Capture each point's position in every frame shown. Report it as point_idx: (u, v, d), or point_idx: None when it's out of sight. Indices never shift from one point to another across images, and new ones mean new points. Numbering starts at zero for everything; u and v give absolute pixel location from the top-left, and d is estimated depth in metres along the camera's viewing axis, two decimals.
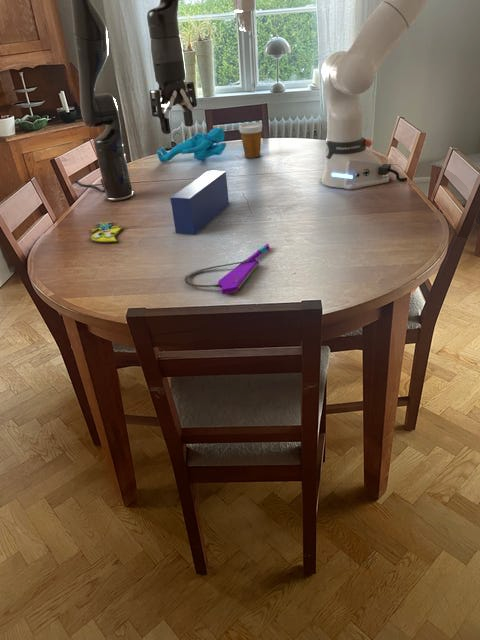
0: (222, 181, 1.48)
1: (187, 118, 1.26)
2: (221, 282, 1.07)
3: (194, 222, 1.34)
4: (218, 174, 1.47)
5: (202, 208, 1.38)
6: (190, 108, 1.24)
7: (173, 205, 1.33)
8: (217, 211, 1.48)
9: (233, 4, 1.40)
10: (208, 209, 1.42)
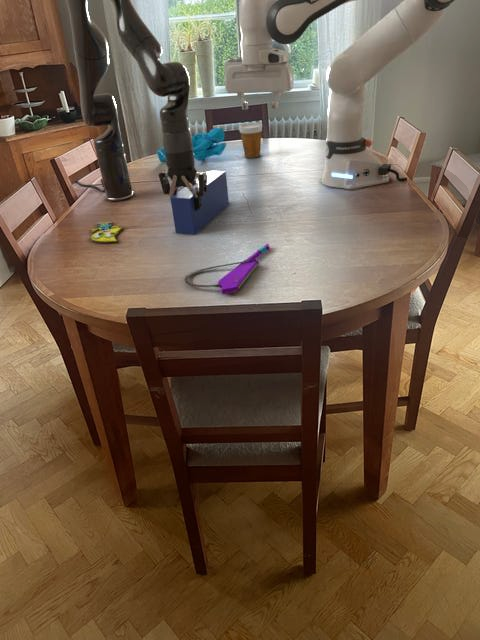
0: (222, 181, 1.48)
1: None
2: (221, 282, 1.07)
3: (194, 221, 1.34)
4: (218, 174, 1.47)
5: (202, 208, 1.38)
6: None
7: (173, 205, 1.33)
8: (217, 211, 1.48)
9: None
10: (208, 209, 1.42)
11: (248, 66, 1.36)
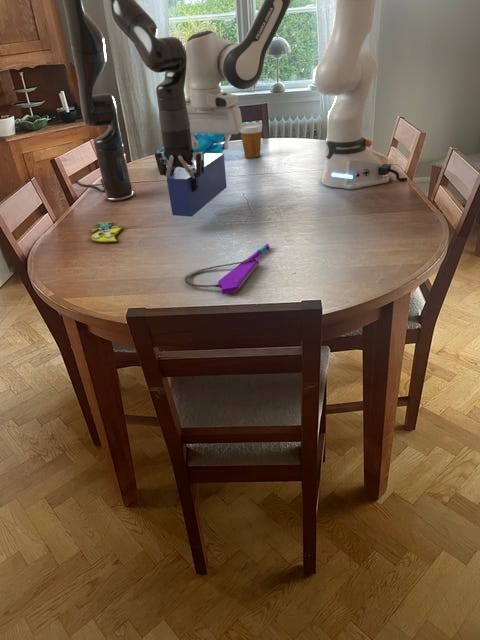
0: (220, 163, 1.45)
1: None
2: (221, 282, 1.07)
3: (191, 203, 1.31)
4: (216, 156, 1.44)
5: (199, 190, 1.35)
6: None
7: (169, 186, 1.30)
8: (215, 194, 1.45)
9: None
10: (205, 191, 1.39)
11: (197, 108, 1.36)
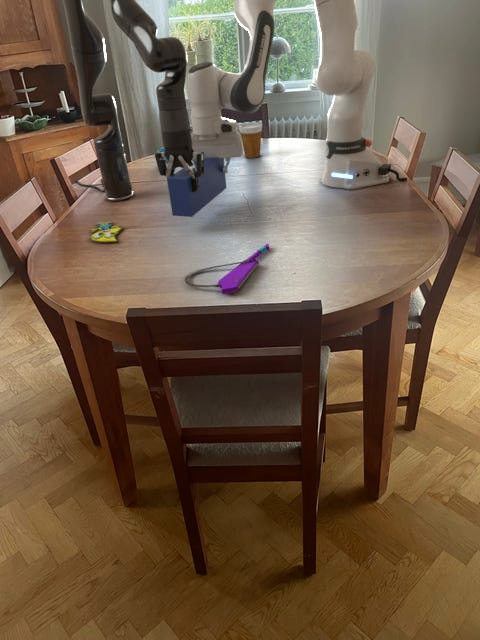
0: (220, 164, 1.45)
1: None
2: (221, 282, 1.07)
3: (191, 203, 1.31)
4: None
5: (200, 191, 1.35)
6: None
7: (169, 186, 1.30)
8: (214, 195, 1.45)
9: None
10: (206, 192, 1.39)
11: (200, 136, 1.40)
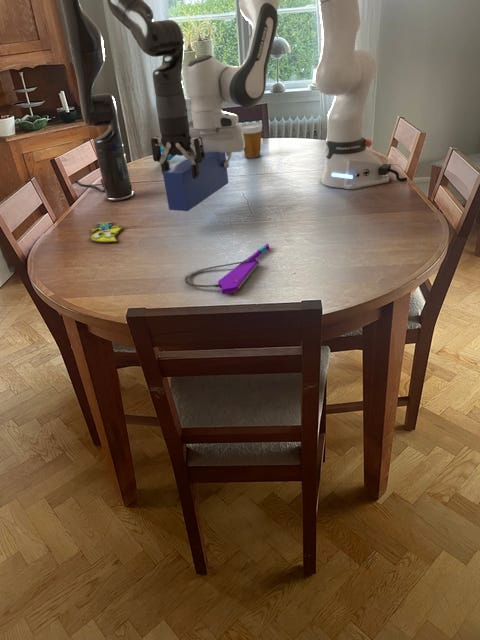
0: (221, 159, 1.44)
1: (167, 169, 1.30)
2: (221, 282, 1.07)
3: (187, 198, 1.30)
4: None
5: (197, 185, 1.34)
6: None
7: (165, 180, 1.29)
8: (214, 190, 1.43)
9: None
10: (204, 186, 1.37)
11: (200, 130, 1.38)
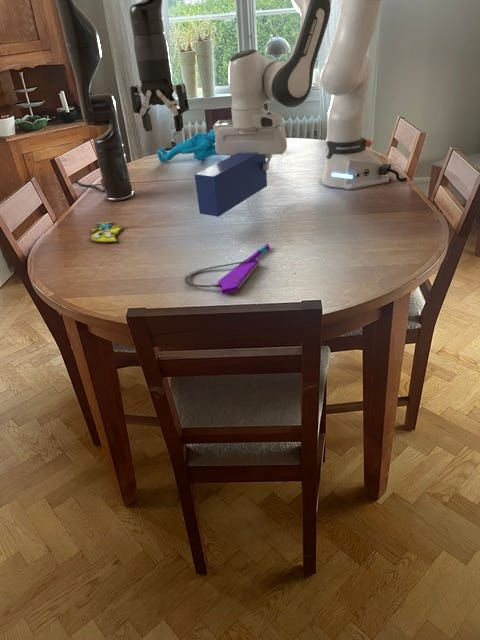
0: (260, 160, 1.35)
1: (149, 122, 1.19)
2: (221, 282, 1.07)
3: (218, 202, 1.23)
4: (255, 153, 1.34)
5: (231, 189, 1.26)
6: None
7: (197, 183, 1.22)
8: (250, 193, 1.35)
9: None
10: (238, 190, 1.29)
11: (240, 129, 1.30)
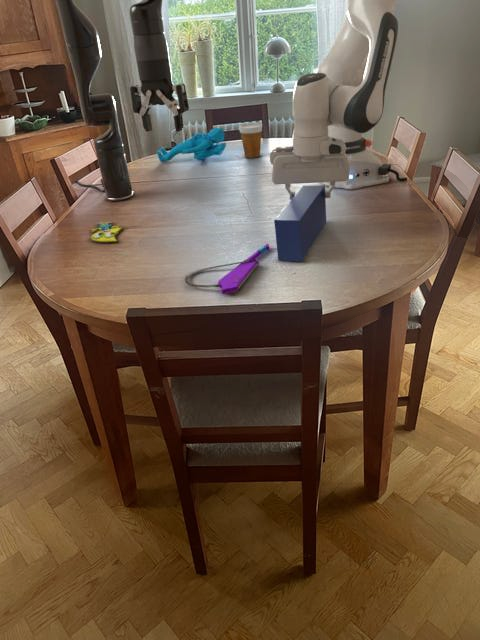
0: (322, 197, 1.28)
1: (149, 122, 1.19)
2: (221, 282, 1.07)
3: (301, 247, 1.14)
4: (318, 189, 1.27)
5: (308, 231, 1.18)
6: None
7: (277, 229, 1.13)
8: (318, 232, 1.27)
9: None
10: (312, 230, 1.21)
11: (303, 157, 1.21)
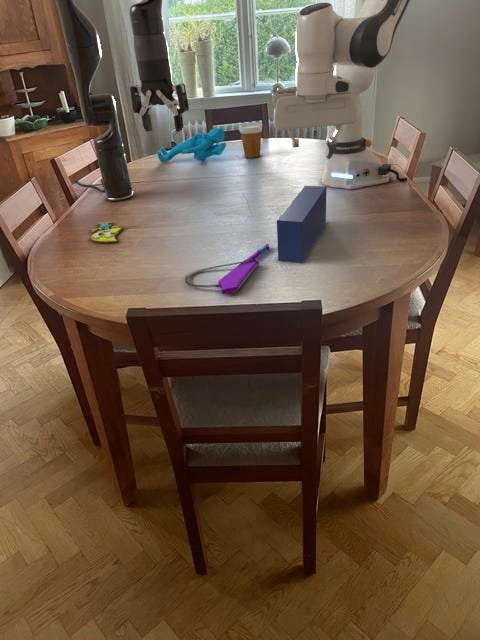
0: (323, 198, 1.28)
1: (149, 122, 1.19)
2: (221, 282, 1.07)
3: (302, 248, 1.14)
4: (320, 190, 1.27)
5: (309, 232, 1.18)
6: None
7: (279, 229, 1.13)
8: (318, 233, 1.28)
9: None
10: (313, 232, 1.22)
11: (308, 97, 1.13)
